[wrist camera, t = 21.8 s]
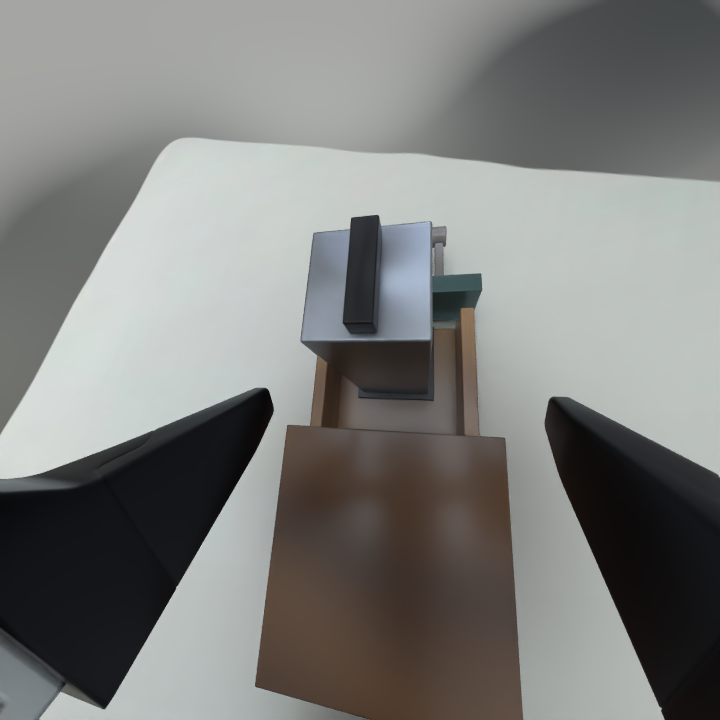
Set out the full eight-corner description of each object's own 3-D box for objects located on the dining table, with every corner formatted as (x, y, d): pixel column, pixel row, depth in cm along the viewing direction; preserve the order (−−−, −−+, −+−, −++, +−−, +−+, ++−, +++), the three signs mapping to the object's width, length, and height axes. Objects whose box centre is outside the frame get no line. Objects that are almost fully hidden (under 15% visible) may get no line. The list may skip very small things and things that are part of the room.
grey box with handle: (433, 400, 20) (447, 344, 8) (359, 398, 21) (274, 344, 9) (433, 329, 22) (445, 189, 10) (363, 330, 23) (294, 207, 11)
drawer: (340, 260, 26) (323, 224, 22) (468, 250, 24) (478, 208, 19) (323, 452, 22) (298, 455, 18) (476, 464, 20) (491, 471, 15)
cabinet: (321, 428, 23) (286, 424, 17) (482, 438, 21) (505, 437, 15) (303, 614, 20) (254, 687, 14) (491, 655, 17) (526, 764, 12)
